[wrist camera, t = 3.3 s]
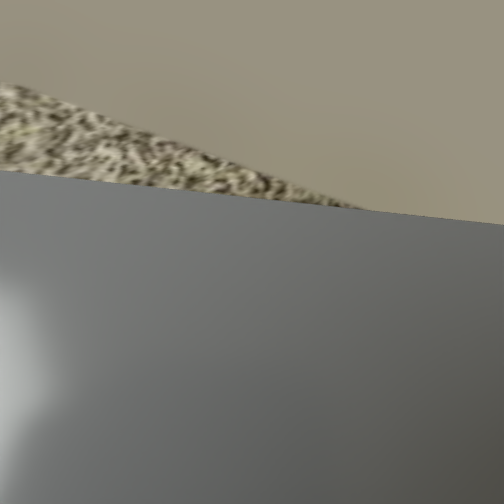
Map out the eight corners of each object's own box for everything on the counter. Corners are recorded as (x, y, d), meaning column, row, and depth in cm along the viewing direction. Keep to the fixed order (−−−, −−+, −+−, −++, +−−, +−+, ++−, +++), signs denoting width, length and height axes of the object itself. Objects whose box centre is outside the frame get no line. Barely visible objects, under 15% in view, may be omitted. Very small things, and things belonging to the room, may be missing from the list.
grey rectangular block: (279, 430, 15) (610, 1024, 3) (129, 425, 14) (-337, 1181, 2) (287, 285, 16) (568, 232, 4) (147, 273, 15) (-107, 159, 3)
